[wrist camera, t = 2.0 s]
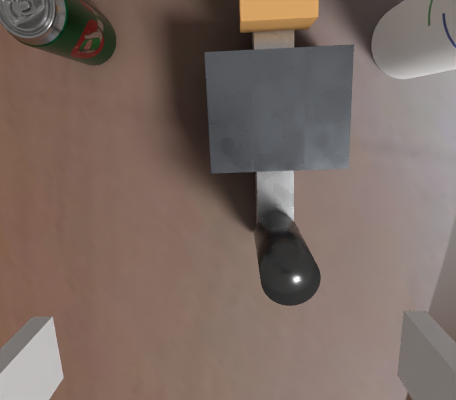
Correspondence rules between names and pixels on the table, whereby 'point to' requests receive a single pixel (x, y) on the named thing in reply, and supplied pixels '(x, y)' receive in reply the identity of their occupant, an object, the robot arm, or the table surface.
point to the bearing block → (279, 108)
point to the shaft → (281, 220)
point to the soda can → (60, 28)
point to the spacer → (277, 15)
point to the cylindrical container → (416, 39)
